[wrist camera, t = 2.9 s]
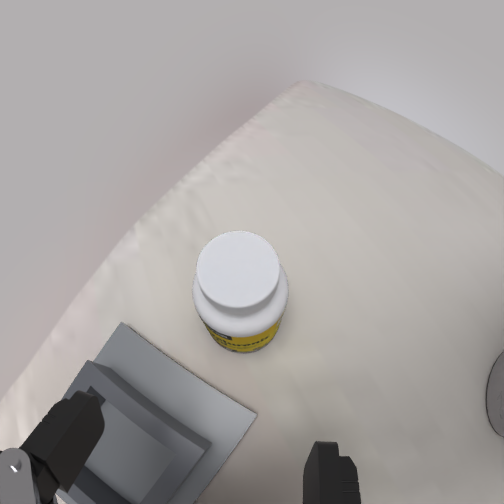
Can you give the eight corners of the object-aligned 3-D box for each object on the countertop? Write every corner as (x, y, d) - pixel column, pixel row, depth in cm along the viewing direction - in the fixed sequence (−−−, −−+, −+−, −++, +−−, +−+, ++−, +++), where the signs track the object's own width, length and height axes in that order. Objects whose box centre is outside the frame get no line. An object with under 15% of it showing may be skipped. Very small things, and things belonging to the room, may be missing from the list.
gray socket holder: (127, 325, 23) (102, 307, 19) (256, 413, 20) (258, 416, 16) (36, 463, 17) (2, 466, 13) (147, 556, 14) (127, 580, 10)
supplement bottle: (199, 346, 23) (165, 306, 14) (217, 280, 25) (198, 208, 16) (271, 361, 22) (284, 332, 13) (285, 293, 24) (302, 226, 16)
